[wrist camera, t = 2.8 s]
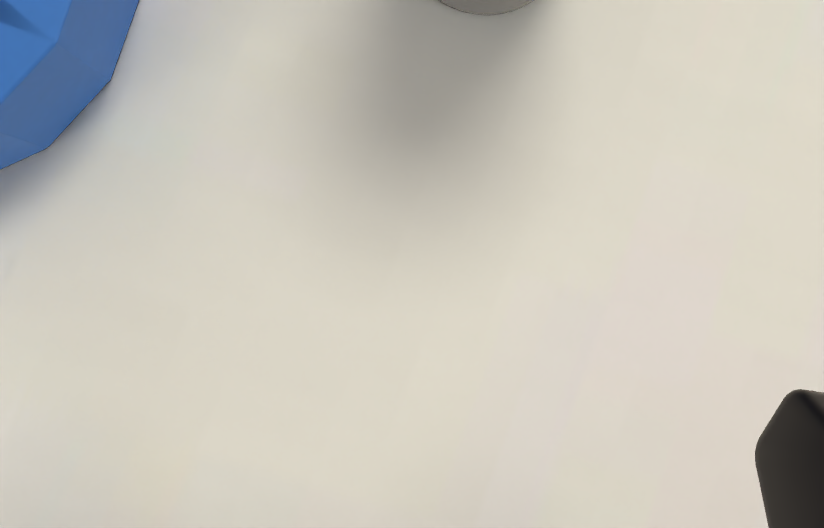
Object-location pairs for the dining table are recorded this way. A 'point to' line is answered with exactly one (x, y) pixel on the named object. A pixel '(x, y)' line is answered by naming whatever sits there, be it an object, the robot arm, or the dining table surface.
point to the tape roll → (53, 66)
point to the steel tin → (486, 5)
